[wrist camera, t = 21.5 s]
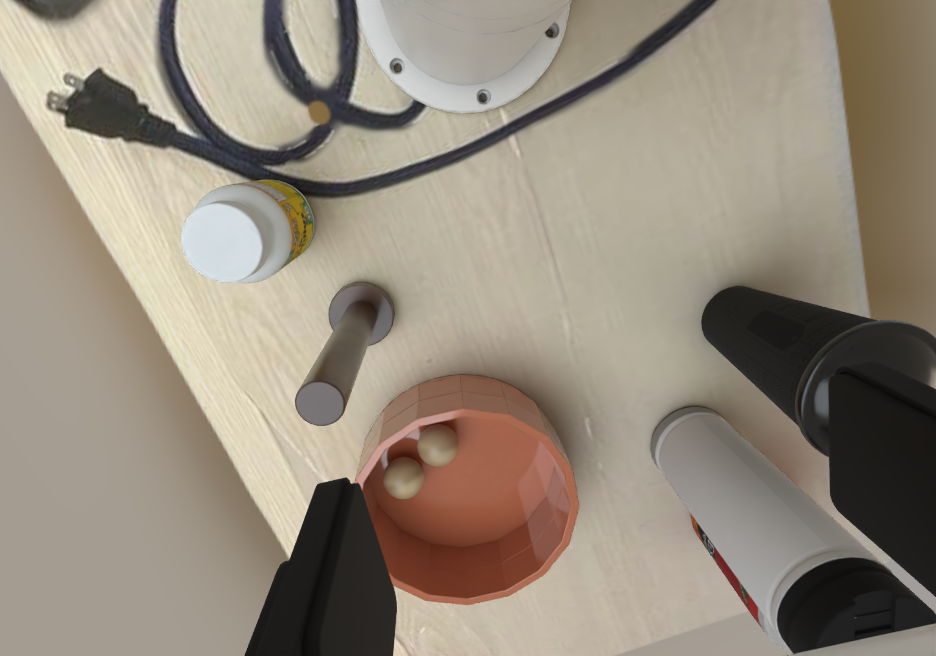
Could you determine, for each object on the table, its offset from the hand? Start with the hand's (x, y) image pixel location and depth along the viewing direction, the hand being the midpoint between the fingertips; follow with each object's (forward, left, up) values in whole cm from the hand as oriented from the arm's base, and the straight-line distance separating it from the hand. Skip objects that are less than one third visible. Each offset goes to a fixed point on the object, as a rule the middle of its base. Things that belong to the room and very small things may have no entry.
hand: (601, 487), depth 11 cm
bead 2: (+13, -6, -26) cm, 30 cm away
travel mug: (+18, +13, -28) cm, 36 cm away
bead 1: (+15, -9, -26) cm, 31 cm away
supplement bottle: (-5, -13, -28) cm, 32 cm away
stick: (+2, -9, -28) cm, 30 cm away
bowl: (+16, -5, -28) cm, 33 cm away
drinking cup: (+9, +17, -28) cm, 34 cm away
